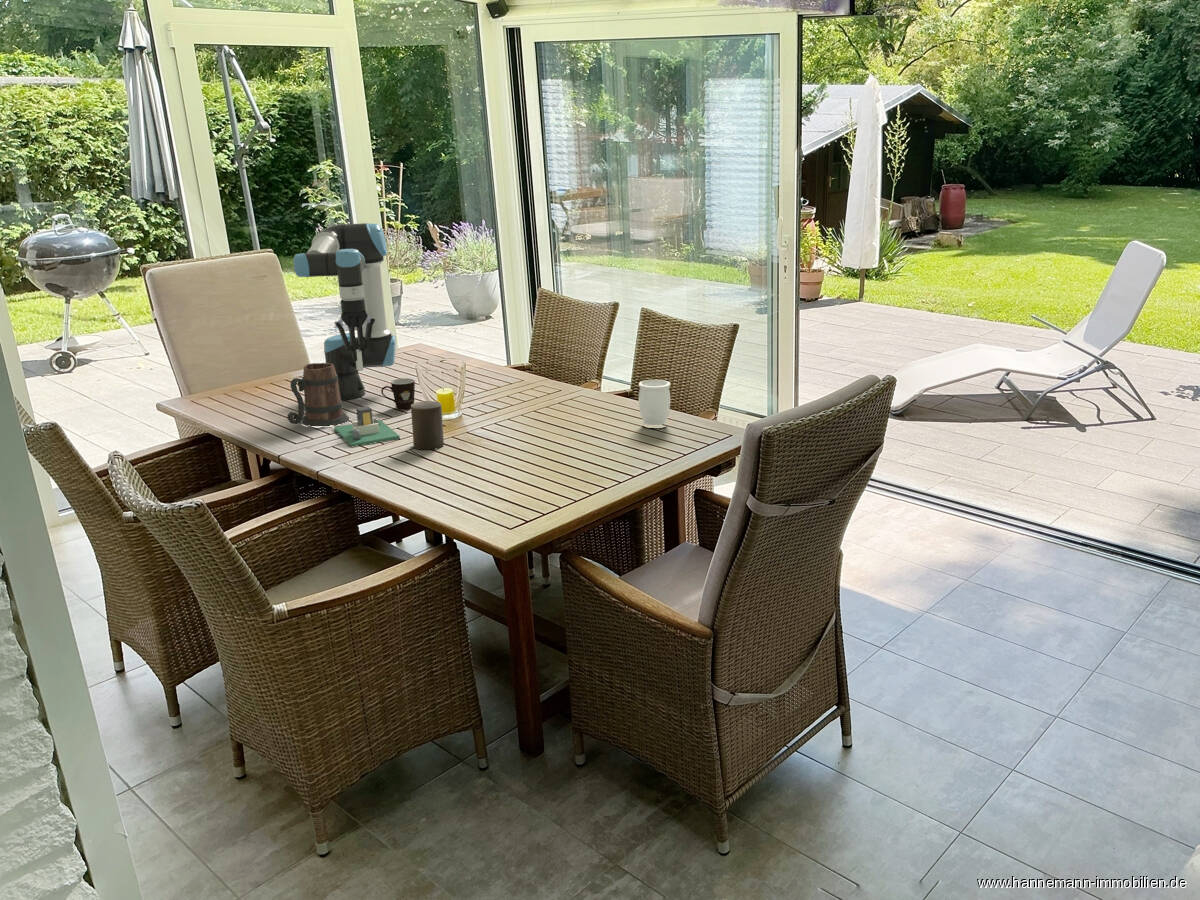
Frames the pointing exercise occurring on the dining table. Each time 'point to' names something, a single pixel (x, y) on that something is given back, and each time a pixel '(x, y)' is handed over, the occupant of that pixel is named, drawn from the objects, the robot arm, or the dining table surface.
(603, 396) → the dining table surface
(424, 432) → the pillar candle
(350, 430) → the board
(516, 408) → the dining table surface
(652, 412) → the jar
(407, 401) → the coffee mug
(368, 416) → the plug
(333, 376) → the tankard
